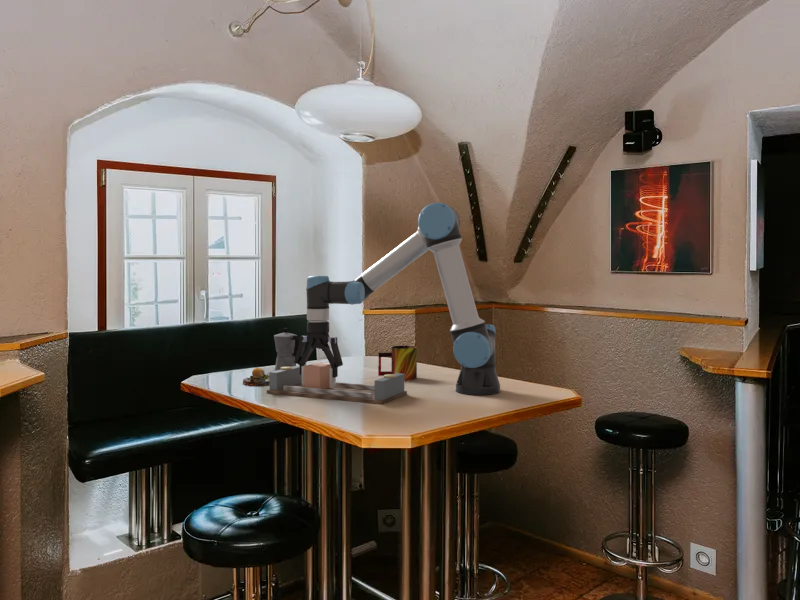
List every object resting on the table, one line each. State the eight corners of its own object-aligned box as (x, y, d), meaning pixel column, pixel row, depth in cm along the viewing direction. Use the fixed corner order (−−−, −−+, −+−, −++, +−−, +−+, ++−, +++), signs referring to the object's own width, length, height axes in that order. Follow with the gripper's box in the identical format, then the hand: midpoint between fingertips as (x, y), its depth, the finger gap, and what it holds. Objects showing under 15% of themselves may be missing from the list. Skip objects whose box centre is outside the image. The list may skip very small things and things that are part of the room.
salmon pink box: (332, 386, 238) (332, 363, 237) (319, 390, 230) (319, 367, 230) (317, 385, 240) (317, 362, 240) (304, 389, 233) (304, 366, 232)
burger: (282, 382, 255) (282, 362, 255) (262, 387, 245) (261, 366, 244) (256, 380, 261) (256, 360, 260) (235, 385, 250) (235, 364, 250)
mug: (377, 378, 263) (377, 347, 262) (408, 375, 270) (408, 345, 269) (390, 382, 254) (390, 350, 254) (421, 379, 261) (421, 347, 261)
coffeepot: (266, 371, 279) (266, 327, 278) (286, 369, 285) (286, 326, 284) (288, 376, 267) (287, 330, 266) (308, 373, 274) (307, 328, 273)
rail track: (406, 394, 231) (406, 386, 231) (383, 404, 215) (383, 396, 215) (296, 384, 250) (296, 377, 250) (266, 393, 233) (266, 385, 233)
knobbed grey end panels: (405, 391, 230) (405, 372, 230) (384, 400, 216) (384, 379, 215) (294, 382, 249) (294, 364, 248) (268, 389, 234) (268, 370, 234)
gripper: (353, 321, 233) (353, 386, 234) (295, 319, 242) (296, 381, 243) (342, 323, 226) (342, 390, 227) (283, 320, 235) (284, 385, 237)
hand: (318, 385), depth 235 cm, fingers open, 10 cm apart
